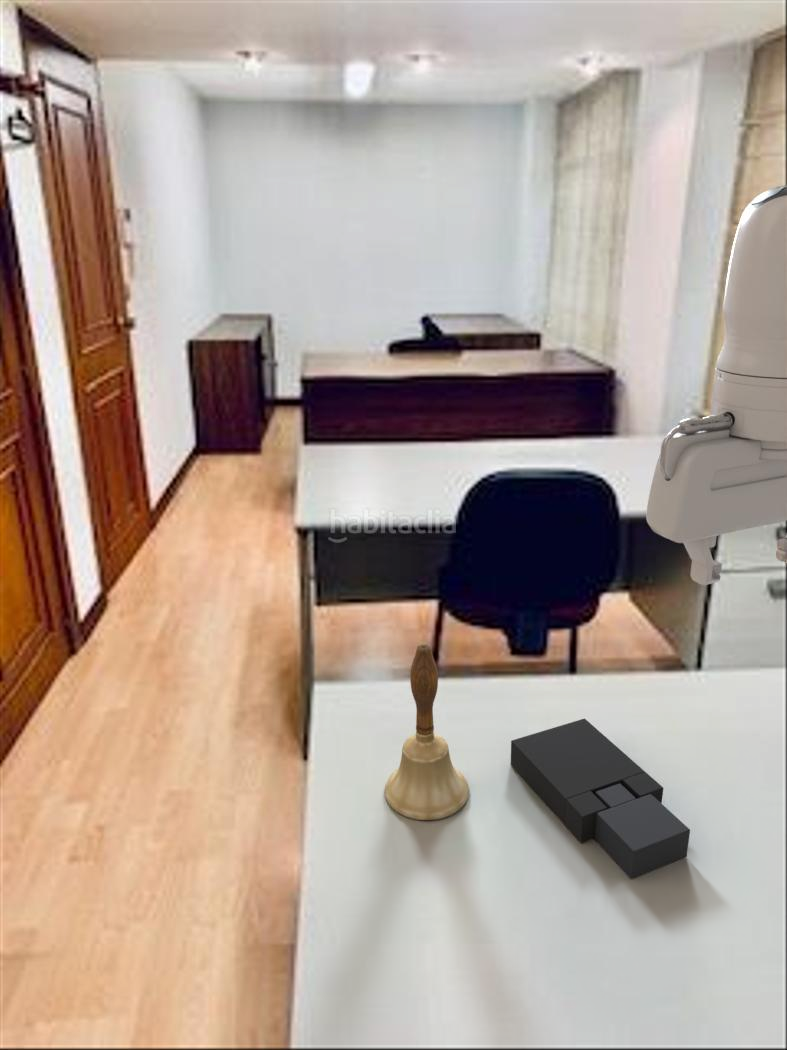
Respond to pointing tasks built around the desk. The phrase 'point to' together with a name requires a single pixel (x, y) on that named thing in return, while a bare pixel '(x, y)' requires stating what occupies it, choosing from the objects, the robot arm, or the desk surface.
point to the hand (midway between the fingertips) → (748, 570)
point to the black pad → (577, 773)
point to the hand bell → (425, 756)
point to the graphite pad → (639, 831)
